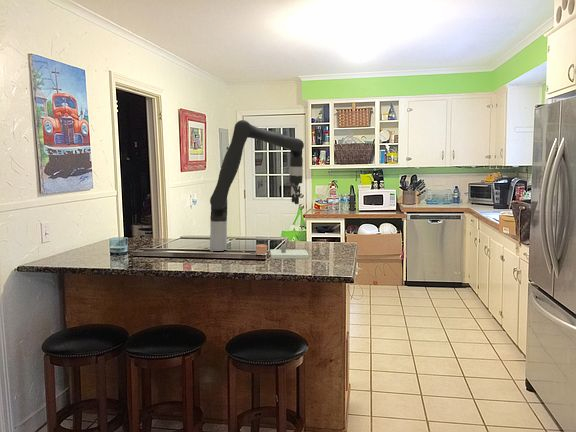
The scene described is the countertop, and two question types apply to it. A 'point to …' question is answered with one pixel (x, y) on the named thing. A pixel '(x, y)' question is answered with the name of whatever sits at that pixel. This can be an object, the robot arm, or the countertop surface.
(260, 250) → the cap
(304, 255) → the post board
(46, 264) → the countertop surface
